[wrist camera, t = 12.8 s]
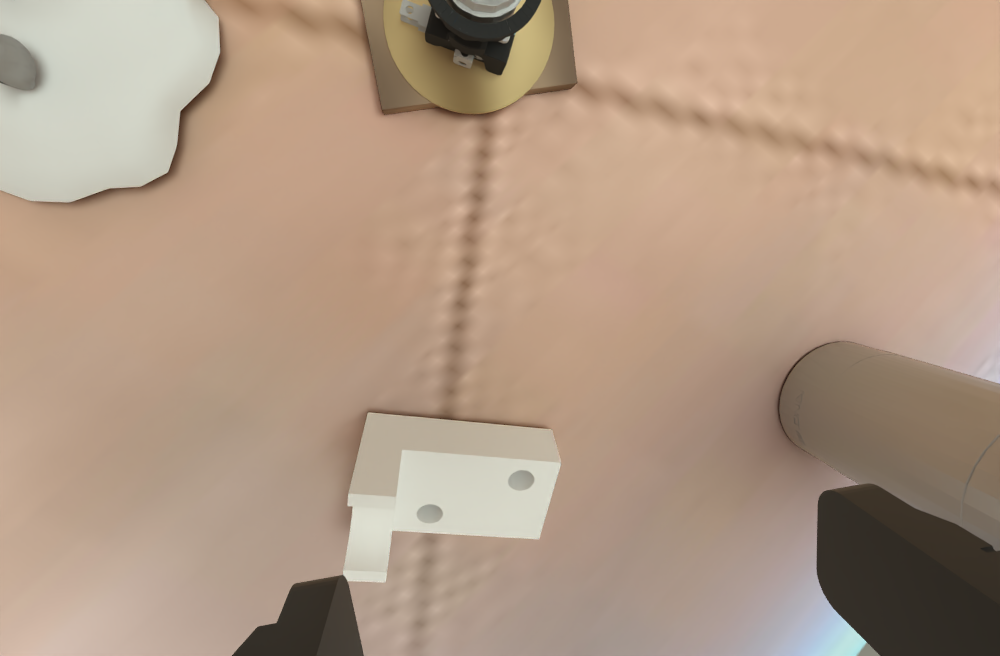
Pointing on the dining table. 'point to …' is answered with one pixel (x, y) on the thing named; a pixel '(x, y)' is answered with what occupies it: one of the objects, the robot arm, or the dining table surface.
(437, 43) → the push button
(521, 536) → the bracket
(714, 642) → the dining table surface
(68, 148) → the figurine
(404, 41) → the gauge board
